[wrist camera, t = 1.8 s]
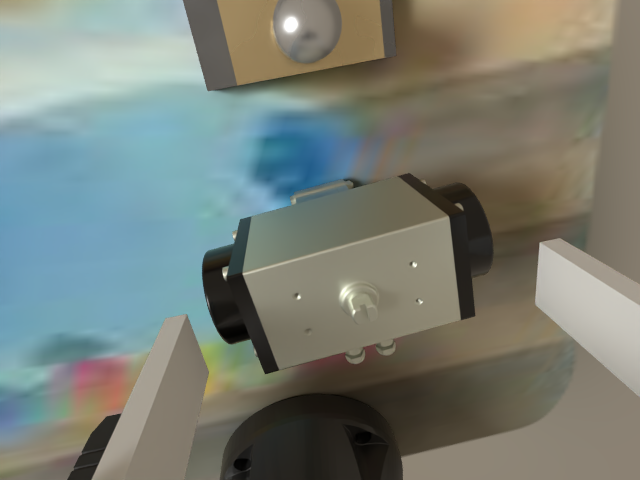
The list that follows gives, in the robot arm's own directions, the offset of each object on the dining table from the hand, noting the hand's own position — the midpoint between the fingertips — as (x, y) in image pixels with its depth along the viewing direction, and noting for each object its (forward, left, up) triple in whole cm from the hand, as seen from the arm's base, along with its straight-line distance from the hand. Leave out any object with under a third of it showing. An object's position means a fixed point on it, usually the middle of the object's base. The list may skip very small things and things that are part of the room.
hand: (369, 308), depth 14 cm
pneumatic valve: (0, 0, -12) cm, 12 cm away
